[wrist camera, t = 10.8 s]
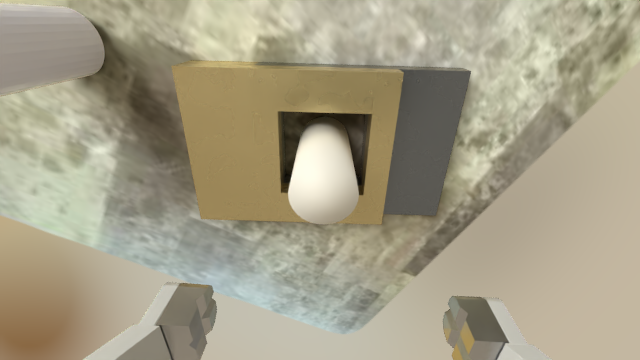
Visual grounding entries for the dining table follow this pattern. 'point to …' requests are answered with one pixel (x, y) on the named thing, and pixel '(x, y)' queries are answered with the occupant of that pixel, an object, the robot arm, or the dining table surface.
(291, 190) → the pin
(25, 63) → the perfume bottle
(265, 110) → the brass square frame
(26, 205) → the dining table surface
